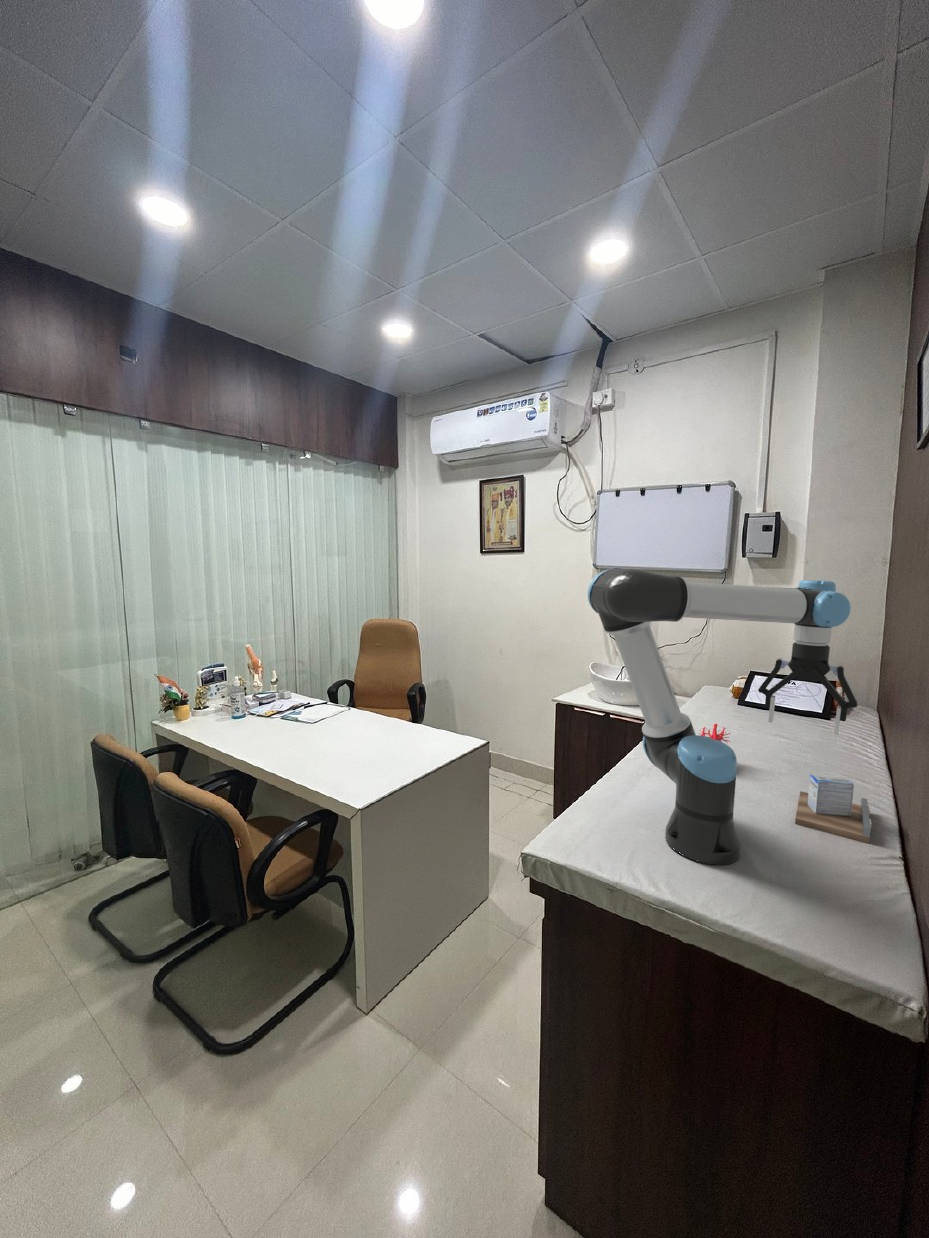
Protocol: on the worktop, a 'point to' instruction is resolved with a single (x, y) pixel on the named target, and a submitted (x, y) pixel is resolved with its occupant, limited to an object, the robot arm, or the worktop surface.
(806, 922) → the worktop surface
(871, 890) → the worktop surface
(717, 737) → the red branching piece
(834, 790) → the medicine box
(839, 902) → the worktop surface
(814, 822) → the shelf board
